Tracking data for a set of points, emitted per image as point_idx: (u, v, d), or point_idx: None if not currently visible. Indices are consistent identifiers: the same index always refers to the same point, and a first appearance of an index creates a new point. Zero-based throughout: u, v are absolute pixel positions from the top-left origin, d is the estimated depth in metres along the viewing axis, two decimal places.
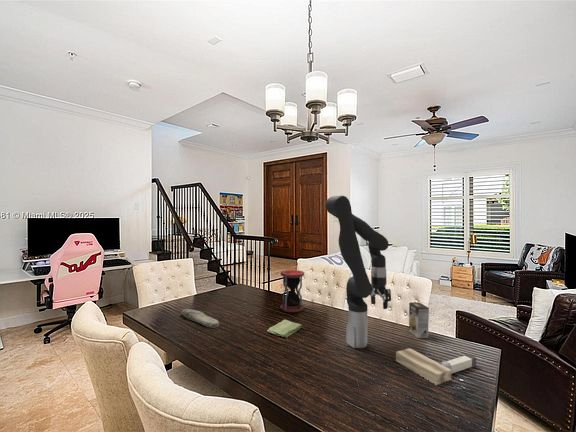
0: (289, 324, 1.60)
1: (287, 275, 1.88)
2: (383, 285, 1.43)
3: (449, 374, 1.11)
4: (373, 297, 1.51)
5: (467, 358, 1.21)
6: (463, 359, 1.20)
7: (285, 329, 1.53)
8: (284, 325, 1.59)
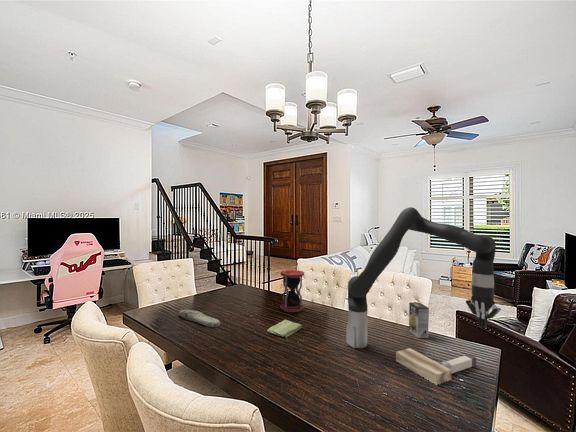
0: (289, 324, 1.60)
1: (287, 275, 1.88)
2: (491, 298, 1.13)
3: (449, 374, 1.11)
4: (481, 318, 1.16)
5: (467, 358, 1.21)
6: (463, 359, 1.20)
7: (285, 329, 1.54)
8: (284, 325, 1.59)
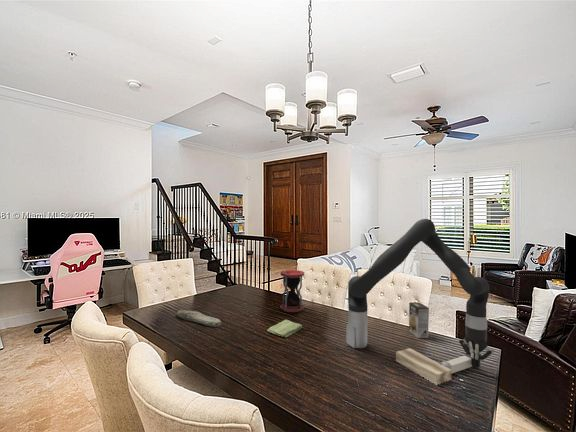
0: (289, 324, 1.60)
1: (287, 275, 1.88)
2: (485, 339, 1.15)
3: (449, 374, 1.11)
4: None
5: (467, 358, 1.21)
6: (463, 359, 1.20)
7: (285, 329, 1.54)
8: (284, 325, 1.59)
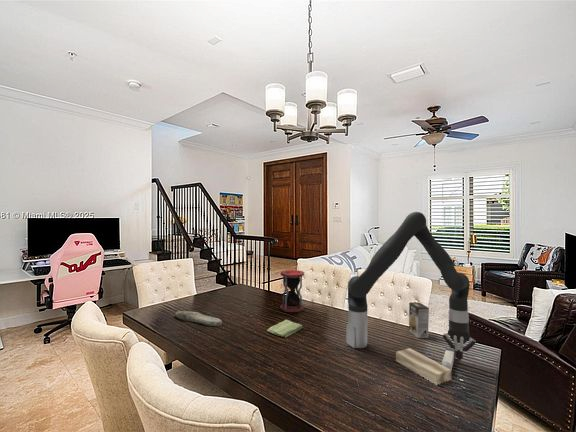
0: (290, 324, 1.60)
1: (287, 275, 1.88)
2: (468, 331, 1.22)
3: (449, 374, 1.11)
4: (458, 350, 1.25)
5: (451, 352, 1.26)
6: (449, 354, 1.24)
7: (285, 329, 1.54)
8: (284, 325, 1.59)
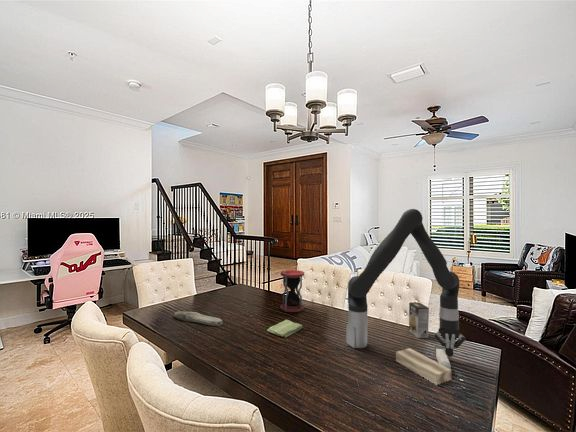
0: (290, 324, 1.60)
1: (287, 275, 1.88)
2: (458, 328, 1.26)
3: (449, 374, 1.11)
4: (449, 348, 1.27)
5: (441, 350, 1.28)
6: (442, 352, 1.26)
7: (285, 329, 1.54)
8: (284, 325, 1.59)
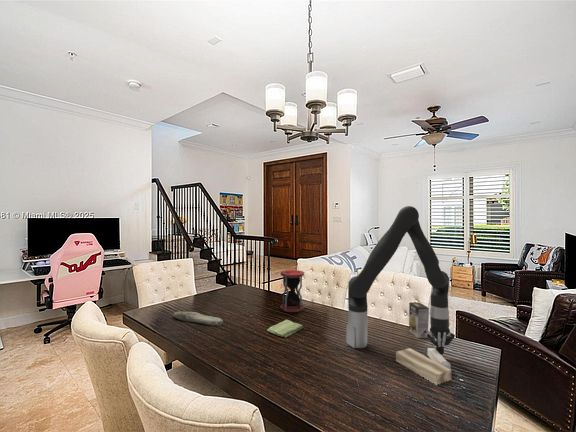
0: (290, 324, 1.60)
1: (287, 275, 1.88)
2: None
3: (449, 374, 1.11)
4: None
5: (433, 349, 1.29)
6: (435, 352, 1.26)
7: (285, 329, 1.54)
8: (285, 325, 1.59)
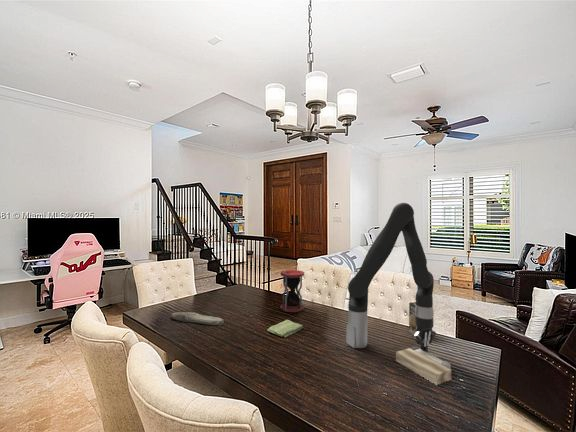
0: (290, 324, 1.60)
1: (287, 275, 1.88)
2: None
3: (449, 374, 1.11)
4: None
5: (420, 350, 1.28)
6: (424, 352, 1.25)
7: (285, 329, 1.54)
8: (285, 325, 1.59)
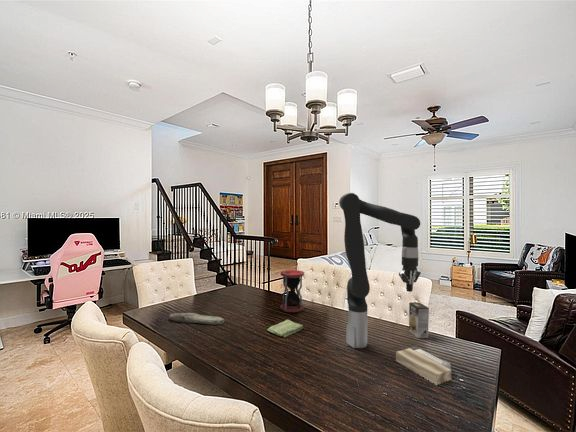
0: (290, 324, 1.60)
1: (287, 275, 1.88)
2: None
3: (449, 374, 1.11)
4: None
5: (420, 350, 1.28)
6: (424, 352, 1.25)
7: (284, 329, 1.54)
8: (285, 325, 1.59)
